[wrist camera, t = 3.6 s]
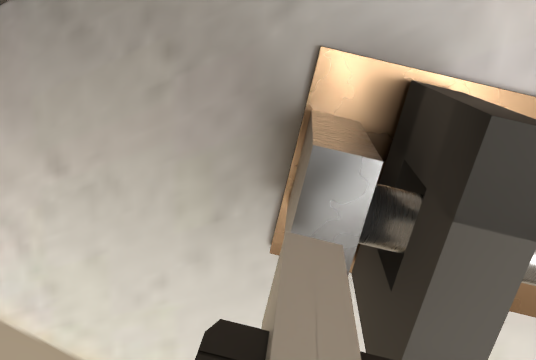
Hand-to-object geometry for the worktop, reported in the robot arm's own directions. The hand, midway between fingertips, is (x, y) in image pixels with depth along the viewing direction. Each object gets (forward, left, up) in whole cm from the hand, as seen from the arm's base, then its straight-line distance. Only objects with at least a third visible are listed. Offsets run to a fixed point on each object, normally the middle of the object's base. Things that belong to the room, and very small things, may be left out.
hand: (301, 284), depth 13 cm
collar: (+5, 0, -11) cm, 12 cm away
